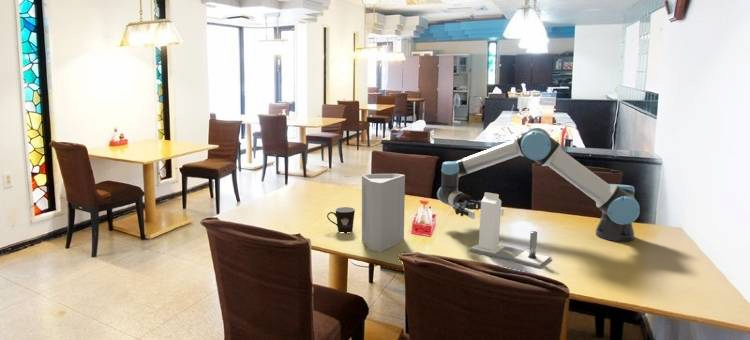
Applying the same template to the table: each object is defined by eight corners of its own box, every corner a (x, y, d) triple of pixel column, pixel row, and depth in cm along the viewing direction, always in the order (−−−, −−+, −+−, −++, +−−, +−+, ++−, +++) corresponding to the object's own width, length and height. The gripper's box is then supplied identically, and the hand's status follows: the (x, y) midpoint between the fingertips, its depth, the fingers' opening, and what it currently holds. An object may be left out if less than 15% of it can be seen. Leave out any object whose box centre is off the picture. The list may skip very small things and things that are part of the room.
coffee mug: (358, 229, 224) (358, 208, 222) (349, 235, 217) (349, 213, 215) (335, 226, 229) (335, 205, 227) (326, 231, 221) (325, 209, 219)
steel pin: (536, 257, 188) (538, 231, 186) (534, 258, 186) (535, 233, 184) (530, 255, 190) (532, 230, 188) (527, 257, 188) (529, 232, 186)
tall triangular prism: (375, 233, 220) (375, 171, 214) (404, 239, 212) (405, 174, 206) (350, 245, 204) (349, 178, 199) (380, 252, 196) (381, 183, 191)
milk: (484, 243, 203) (487, 190, 199) (498, 246, 200) (502, 192, 196) (478, 247, 198) (481, 193, 194) (492, 250, 195) (495, 195, 191)
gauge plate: (550, 258, 190) (551, 255, 190) (539, 268, 181) (539, 264, 180) (483, 243, 207) (484, 240, 207) (470, 251, 198) (470, 247, 198)
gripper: (484, 207, 221) (514, 219, 202) (434, 212, 212) (460, 226, 193) (485, 190, 220) (515, 202, 201) (435, 195, 211) (461, 207, 192)
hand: (488, 214), depth 197 cm, fingers open, 13 cm apart
